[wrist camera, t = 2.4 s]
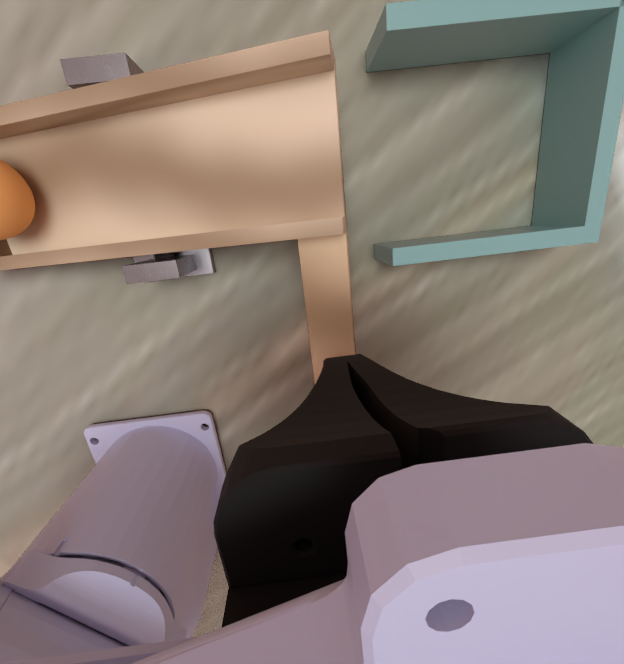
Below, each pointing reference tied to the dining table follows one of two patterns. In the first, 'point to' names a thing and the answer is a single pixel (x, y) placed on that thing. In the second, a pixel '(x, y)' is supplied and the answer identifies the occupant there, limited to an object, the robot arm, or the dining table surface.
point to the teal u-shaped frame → (559, 109)
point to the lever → (194, 170)
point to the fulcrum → (144, 266)
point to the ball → (14, 202)
